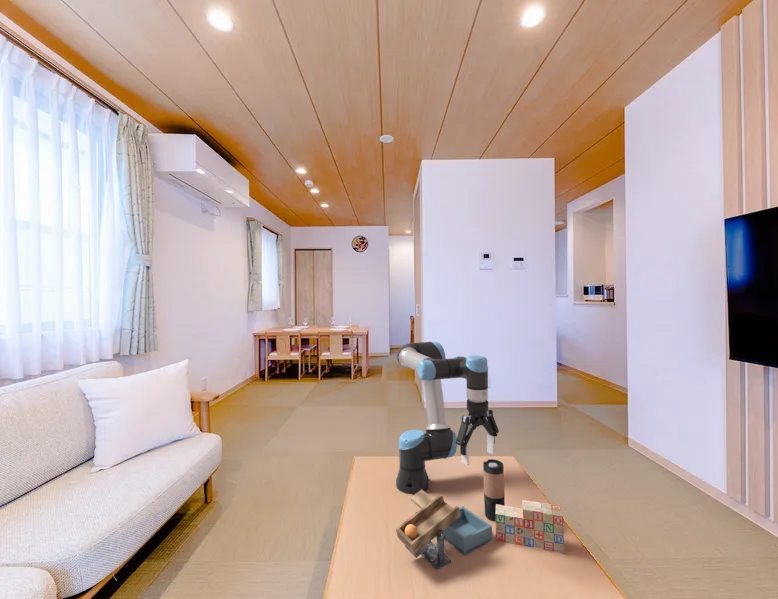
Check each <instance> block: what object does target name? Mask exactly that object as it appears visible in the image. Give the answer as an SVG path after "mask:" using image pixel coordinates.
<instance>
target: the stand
mask: <svg viewBox="0 0 778 599" xmlns="http://www.w3.org/2000/svg"><path fill="white" fill-rule="evenodd" d="M417 512H418V511H416V512H415V514H416V513H417ZM445 538H446V535H445V534H444V531H443V530H440V531H437V536H436V544H435V543H434V542H433V540H431V541H430V542H429V543H428V549H426V550H425V551H424V552H423V553H422V554H420V556H421V557H422V558H424V559H425V560H426V561H427V562H428V564H429V565H430V566H431V567H432V568H433V569H434V570H435V571H436V572H438V571H439V570H441V569H442V568H444V567H447V566H448V565H450V564H452V562H453V561H452V558H451V557H449V556H448V555H447V554H446V553H445V552H446V551H445V548H446V546H445V541H446V540H445Z"/></svg>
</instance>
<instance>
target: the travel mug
mask: <svg viewBox="0 0 778 599" xmlns="http://www.w3.org/2000/svg"><path fill="white" fill-rule="evenodd" d="M482 463H483V469H482V470H483V501H484V502H483V503H484V516H485V517H486V518H487V520H489V521H492V522H495V523H496V516H495V513H496V504H498V505H504V506H506V505H505V504H506V502H505V500H506V498H505V497H506V495H505V474H504V472H505V471H504V463H503V462H502V461H500V460H498V459H493V458H490V459H487V460H486V461H483V462H482Z"/></svg>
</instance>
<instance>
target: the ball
mask: <svg viewBox="0 0 778 599" xmlns="http://www.w3.org/2000/svg"><path fill="white" fill-rule="evenodd" d="M405 534H406V535H407V536H408V537H409V538H410V539H414V538H415V537H416V536H417V528H416V527H415V526H414V525H413V524H409V525H407V526H406V528H405Z"/></svg>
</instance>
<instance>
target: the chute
mask: <svg viewBox="0 0 778 599" xmlns="http://www.w3.org/2000/svg"><path fill="white" fill-rule="evenodd" d="M409 498H410V501H411V502H412V503H414V504H415V505H416V506H417V507H419V509H420V510H418V511H416V512H417V513H416V512H415V513H416V514H413V515H412V516H411V517H408V519H406V520H405V521H403V522H402V523H401V524H400V525H398V526H397V527H395V531H396V536H397V538H398V540H400V541H401V543H403V545H404V547H405V548H406V550H408V551H409V552H410V554H412V556H414V558H416V559H417V558H418V557H420V556H421V554H422V553H423V552H424V551H425V550H426V549H428V543H429V542H430V541H433V540H434V539H435V538H437V531H440V530H445V529H446V528H447V527H448V526H449V525H451V524H452V523H453V522H454V521H455V520H457V519H458V518H459V517H460V516H461V514H460V510H459V508H460V506H459V505H456V506H455V507H452V506H451V505H450V504H448V503H447V502H446V501H445V499H444V496H443V494H439V495H438V496H437V497H435V498H434V497H432V496H431V495H430V494H429V493H427V491H423V490H420V491H419V492H417V493H416V494H412V496H411V497H409ZM409 524H413V525H414V526H415V527H416V528H417V536H416V537H415V538H414V539H410V538H409V537H408V536H407V535H406V534H405V528H406V526H407V525H409Z"/></svg>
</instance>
